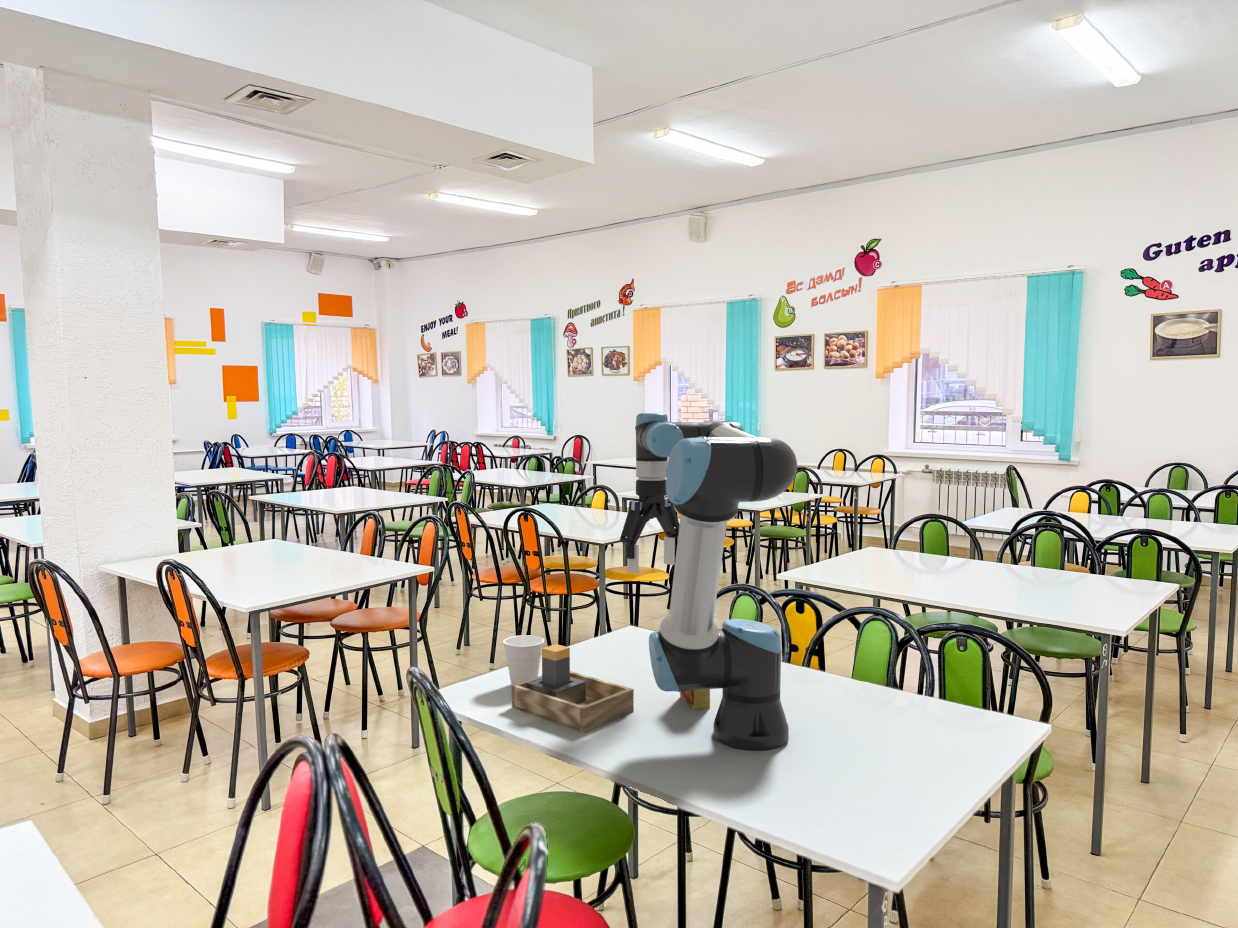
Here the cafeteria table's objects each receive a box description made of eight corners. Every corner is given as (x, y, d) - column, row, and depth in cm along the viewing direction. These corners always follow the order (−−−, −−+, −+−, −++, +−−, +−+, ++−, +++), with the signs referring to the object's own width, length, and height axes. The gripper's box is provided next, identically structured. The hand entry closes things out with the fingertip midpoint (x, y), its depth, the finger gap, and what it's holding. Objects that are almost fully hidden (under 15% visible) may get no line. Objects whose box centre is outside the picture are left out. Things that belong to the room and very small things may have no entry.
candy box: (678, 697, 195) (678, 632, 194) (695, 695, 197) (695, 630, 196) (692, 710, 187) (692, 642, 186) (710, 708, 188) (711, 640, 187)
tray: (633, 711, 187) (633, 688, 186) (583, 732, 175) (583, 708, 174) (562, 689, 201) (562, 668, 201) (511, 707, 189) (511, 685, 189)
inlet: (585, 700, 191) (585, 681, 191) (556, 712, 184) (556, 691, 184) (556, 691, 198) (556, 672, 197) (526, 702, 191) (526, 682, 190)
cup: (542, 692, 199) (542, 646, 198) (500, 692, 199) (499, 646, 198) (546, 678, 209) (546, 634, 208) (506, 678, 209) (506, 634, 208)
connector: (570, 699, 191) (569, 647, 190) (556, 704, 188) (555, 651, 187) (556, 695, 194) (555, 643, 193) (542, 700, 191) (541, 648, 190)
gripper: (671, 474, 211) (671, 558, 212) (604, 481, 192) (604, 574, 194) (695, 476, 206) (695, 562, 207) (629, 483, 187) (629, 578, 189)
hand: (651, 568), depth 200 cm, fingers open, 13 cm apart
